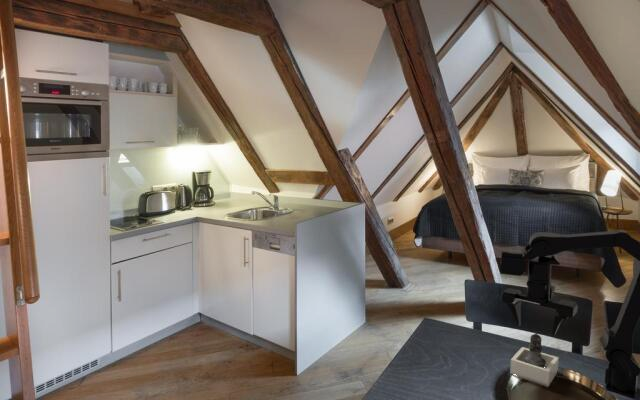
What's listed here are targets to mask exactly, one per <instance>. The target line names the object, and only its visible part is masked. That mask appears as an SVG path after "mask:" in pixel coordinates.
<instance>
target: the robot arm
mask: <svg viewBox="0 0 640 400" xmlns="http://www.w3.org/2000/svg"><path fill="white" fill-rule="evenodd" d="M604 248H605V249H606V248H621V249H622V250H624V251H625V252H626V253H628V254H629V255H631V256H632V257H633V263H632V279H631V281H630V284H629V287H628V289H627V292H626V295H625V297H624V300H623V303H622V305H621V307H620V311H619V313H618V315H617V318H616V321H615V323H614V325H612V327H611V328H607V327H603V330H602V334H601V336H600V337H599V338H598V340H599V342H600V347H601V349H602V352H603V354H604V356H605V358H606V359H607V361H608V362H609V363H608V364H607V366H606V368H605V374H604V384H605V389H606V390H609V391H612V392H614V393H618V394H621V395H624V396H627V397H630V398H635V397H636V395H637V392H638V389H639V386H638V379H639V375H640V365H639V363H638V361H637V359H636V358H635V356H634V354H633V352H634V333H635V331H636V329H637V327H638V324H639V322H640V241H639V240H637V239H636V238H634V237H632V236H631V235H630V234H629V233H628V232H626V231H625V230H623V229H616V230H607V231H594V232H582V233H570V234H569V233H568V234H562V233H557V232H545V231H538V232H534V233H533V234H532V235H531V236H530V237H529V243H528V244H527V245H526V246H524V248H523V249H522V250H521V252H518V251H517V252H516V251H508V250H501V259H500V263H499V264H500V266H499V275H505V276H513V277H514V276H516V277H522V275H524V274H526V273H527V281H526V289H527V290H526V295H525V294H522V291H521V290H520V289H515V288H511V287H508V288H506V289H505V290H503V291H502V292H501V294H500V302H502V303H504V305H505V306H507V307H508V308H509V310H510V311H511V313H512V315H513V318H514V320H515V322H516V325H517V327H521V324H522V323H521V322H522V314H521V313H522V311H521V309H522V308H521V306H522V302H524V303H527V304H532V305H536V306H539V307H540V306H541V307H545V308H548V309H549V308H550V309H554V310H555V312H556V313H555V314H554V318H553V325H552V336H553V337H554V336H555V335H556V334H557V331H558V330H559V327H560V325H561V324H562V321H563V320H568V318H574V316H575V315H576V314H577V313H578V309H579V308H578V307H579V306H578V303H577V302H576V301H572V300H567V299H563V298H561V299H560V300H559V301H553V300H552V299H553V298H554V297H555V289H556V286H554V285H552V280H551V276H552V265H554V266H559V265H560V264H561V263H560V260H559V259H558V258H557V257H556V256H555V255H558V254H560V253H563V252H567V251H575V250H591V249H604ZM527 263H528V266H527ZM527 268H528V270H527ZM526 271H527V272H526Z"/></svg>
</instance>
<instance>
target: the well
mask: <svg viewBox="0 0 640 400" xmlns="http://www.w3.org/2000/svg"><path fill="white" fill-rule="evenodd" d="M529 352H530V348H529V347H524V346H521V348H520V349H519V350H518V351H517V352H516V353H515V354H514V356H513V357H512V358H511V359H510V365H509V366H510V368H509V369H510V371H509V374H510V375H511V374H516V375H517V376H518V377H517V376H516V377H517V378H520V379H523V380H526V381H528V382H531V383H535V384H538V385H540V386H544V387H546V388H549V386H550V385H551V383H552V381H553V380H554V379H555V377H556V375H557V374H558V373H557V370H558V371H559V360H560V359H559V358H560V357H559V356H555V355H553V354H551V355H550V354H547V353H544V352H541V357H542V358H544V359H545V360H546V364H545V366H544V367H545V368H542V367H538V366H535V365H532V364H529V363H526V362H525V360H524V356H526V355H529Z"/></svg>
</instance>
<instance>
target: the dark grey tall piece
mask: <svg viewBox="0 0 640 400" xmlns="http://www.w3.org/2000/svg"><path fill="white" fill-rule="evenodd" d="M529 341H530V343H529V345H528V349H530V352H529V355H526V356H524V360H525V362H526V363H529V364H532V365H535V366H538V367H542V368H544V366H545V364H546V360H545V359H544V358H542V357H541V353H542V350H543V347H542V337H541V335H539V334H538V332H537V331H536V332H534V334H532V335H530V340H529Z"/></svg>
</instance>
